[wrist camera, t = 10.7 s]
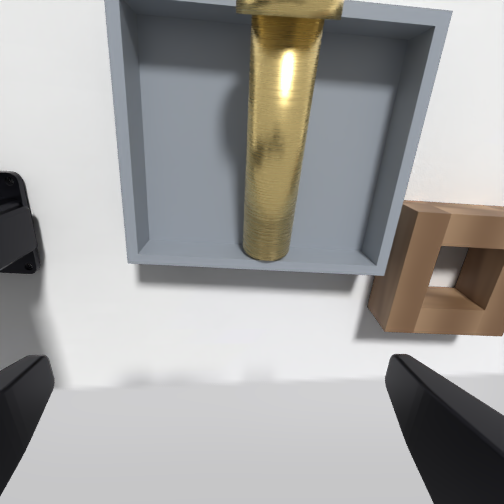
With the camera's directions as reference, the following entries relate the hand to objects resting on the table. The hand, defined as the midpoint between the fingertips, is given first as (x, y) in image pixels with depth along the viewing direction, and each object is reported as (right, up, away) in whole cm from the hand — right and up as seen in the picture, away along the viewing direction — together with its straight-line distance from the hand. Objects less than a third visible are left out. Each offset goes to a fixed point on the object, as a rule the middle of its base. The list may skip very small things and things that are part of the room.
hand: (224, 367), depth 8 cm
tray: (+1, +9, +10) cm, 14 cm away
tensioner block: (+13, +3, +13) cm, 19 cm away
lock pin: (+2, +3, +10) cm, 11 cm away
